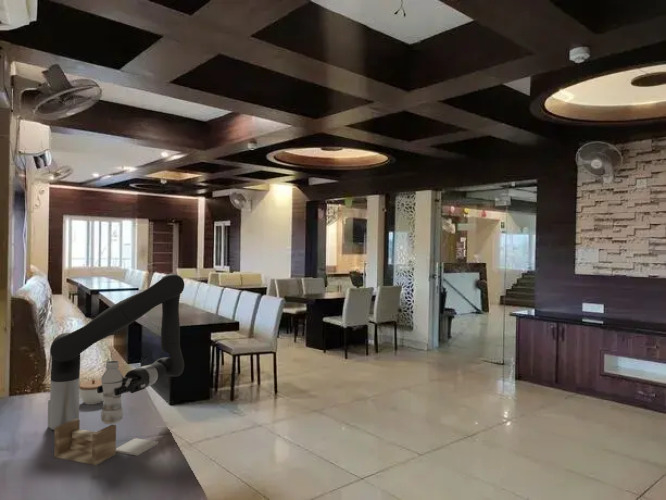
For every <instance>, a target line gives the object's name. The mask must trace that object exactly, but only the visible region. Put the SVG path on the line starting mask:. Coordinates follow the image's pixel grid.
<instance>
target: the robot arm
mask: <svg viewBox="0 0 666 500" xmlns="http://www.w3.org/2000/svg"><path fill="white" fill-rule="evenodd" d="M184 290H185V281H184V279H183V278H182V277H181V276H180V275H179V274H176V273H169V274H165V275H163V276H162V277H161V279H159V280H158V281H157V282H155V283H154V284H153V285H150V287H148V288H146V289H145V290H142V291H140V292H138V293H136V294H134V295H131V296H129V297H128V296H127V297H126V298H125V299H122V300H120V301H118V302H116V303H115V304H112V306H110V307H108V308H107V309H105V310H104V311H102V312H101V313H99V314H98V315H97V316H96V317H94V318H93V319H92V320H91V321H90V322H88V323H87V324H85V325H84V326H82V327H80V328H78V329H76V330H74V331H72V332H64V333H61V334H59V335H57V336H56V337H55V338H54V339H53V341H52V343H51V344H50V348H49V353H50V356H51V366H50V367H51V368H50V393H49V394H50V397H49V398H50V399H49V400H47V401H48V402H47V428H49V429H50V430H52V431H55V427H57V426H60V425H62V424H65V423H67V422H69V421H72V420H74V419H79V420H80V394H79V385H80V384H81V382H80V375H81V374H80V373H81V354H82V353H83V352H84V351H86V350H87V349H89V348H91V346H92V345H95V343H97V342H100V341H101V340H103V339H106V338H108V337H109V336H111V335H113V334H115V333H117V332H119V331H121V330H122V329H123V330H124V329H125V328H127V327H128V326H129V325H131V324H133V323H134V322H136V321H137V320H138V319H140V318H141V317H143V316H144V315H146V314H147V313H149V312H150V311H151V310H152V309H154V308H155V307H158V306H159V305H161V309H162V311H161V313H162V314H161V330H160V331H161V332H160V348H161V351H163V352H166V353H167V354H168V355H169V357H160V358H158V359H156V360H155V361H154V362H153V363H151V364H150V363H149V364H148V365H142V366H140V367H136V368H135V369H131V370H129V371H127V372H126V373H125V375H124V376H123V382H122V386H121V387H119V388H116V389H115V395H116V396H118V395H120V394H121V395H123V394H128V393H131V394H135V393H137V392H139V391H142V390H146V388H149V387H150V386H152V385H154V384H156V383H158V382H161V381H162V380H164V378H165V377H175V378H176V377H179V376H181V375H182V374H183V372H184V369H185V361H184V357H183V353H182V352H183V351H182V349H181V325H180V313H179V312H180V311H179V310H180V309H179V307H180V299H181V294H182V293H183V291H184ZM102 392H103V389H102V385H101V386H98V387H97V393H102Z"/></svg>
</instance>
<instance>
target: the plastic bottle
mask: <svg viewBox="0 0 666 500" xmlns="http://www.w3.org/2000/svg"><path fill="white" fill-rule="evenodd" d="M119 363H120V362H119V360H109V361H107V362H106V363H105V369H106V370H105V371H104V373H103V374H102V376H101V377H100V378H101V379H100V380H101V382H102V389H103V400H102V407H101V414H100V418H101V421H102V423H103V424H105V425H115V424H118V423H120V422H121V421H122V419H123V416H124V409H123V407H122V406H123V404H122V394H120V395H118V396H116V395H115V389H116V388H119V387H121V386H122V382H123V377H124V376H123V374H122V372H121V371H120V370H119V367H120V365H119Z"/></svg>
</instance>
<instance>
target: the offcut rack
mask: <svg viewBox="0 0 666 500" xmlns="http://www.w3.org/2000/svg"><path fill="white" fill-rule="evenodd" d="M116 443H117V425H116V424H109V425H108V426H106V427H103V428H101V429H98V430H97V431H92V430H85V429H81V428H80V418H79V419H74V420H72V421H69V422H67V423H65V424H62V425H60V426H57V427H55V430H54V451H53V453H54V458H58V459H63V460H67V461H73V462H77V463H83V464H89V465H94V466H97V465H99V464H101V463H103V462H104V461H106V460H108V459H111V457H114V456H115V455H117V454H116V453H117V452H116V448H117V444H116Z"/></svg>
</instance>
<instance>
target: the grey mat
mask: <svg viewBox="0 0 666 500" xmlns="http://www.w3.org/2000/svg"><path fill="white" fill-rule="evenodd" d="M158 443H159V441H156V440H155V441H154V440H148V439H144V438H137V437H134V438H133V439H131V440H129V441H127V442H126V443H123V444H122V445H120V446H118V447H116V453H120V454H127V455H132V456H139V455H141V454H143V453H144V452H146V451H148V450H149V449H151V448H153V447H155V446H156V445H157V444H158Z"/></svg>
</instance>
